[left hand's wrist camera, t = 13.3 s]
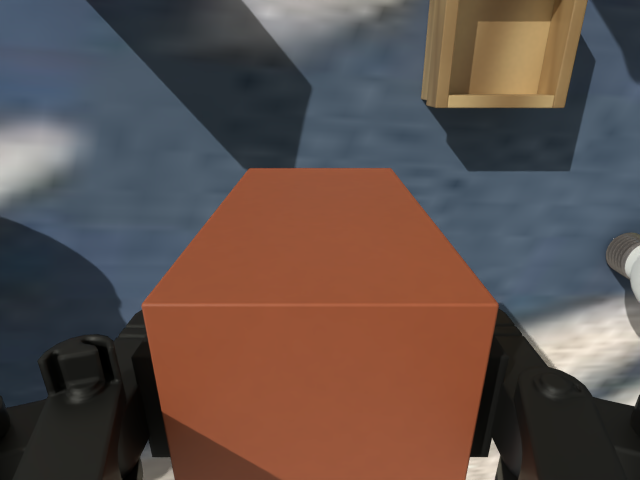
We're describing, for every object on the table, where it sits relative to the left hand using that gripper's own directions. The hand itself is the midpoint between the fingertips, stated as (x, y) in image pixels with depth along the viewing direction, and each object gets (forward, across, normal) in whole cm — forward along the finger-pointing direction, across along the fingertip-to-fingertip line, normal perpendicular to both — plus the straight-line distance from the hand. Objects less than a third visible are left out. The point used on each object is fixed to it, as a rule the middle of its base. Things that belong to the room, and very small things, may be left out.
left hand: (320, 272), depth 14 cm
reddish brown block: (+4, 0, 0) cm, 4 cm away
